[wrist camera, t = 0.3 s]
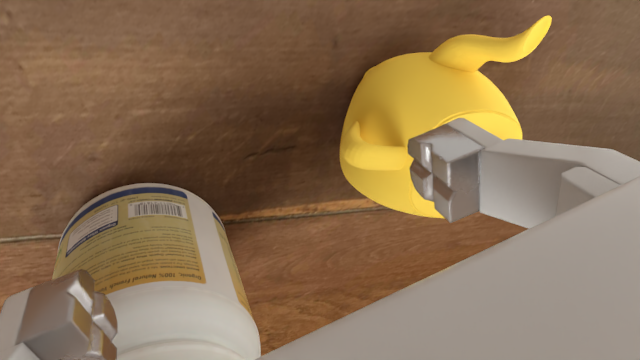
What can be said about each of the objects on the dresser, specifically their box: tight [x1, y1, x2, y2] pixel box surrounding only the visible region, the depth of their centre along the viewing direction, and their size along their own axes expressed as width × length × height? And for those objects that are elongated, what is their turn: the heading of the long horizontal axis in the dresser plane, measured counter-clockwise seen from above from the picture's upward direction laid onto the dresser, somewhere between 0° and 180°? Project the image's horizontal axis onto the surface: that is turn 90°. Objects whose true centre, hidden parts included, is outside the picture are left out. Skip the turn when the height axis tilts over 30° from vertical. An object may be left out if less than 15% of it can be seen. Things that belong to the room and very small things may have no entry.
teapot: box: [340, 16, 552, 218], centre depth 33 cm, size 14×14×12 cm
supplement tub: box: [52, 183, 261, 360], centre depth 28 cm, size 12×12×17 cm
